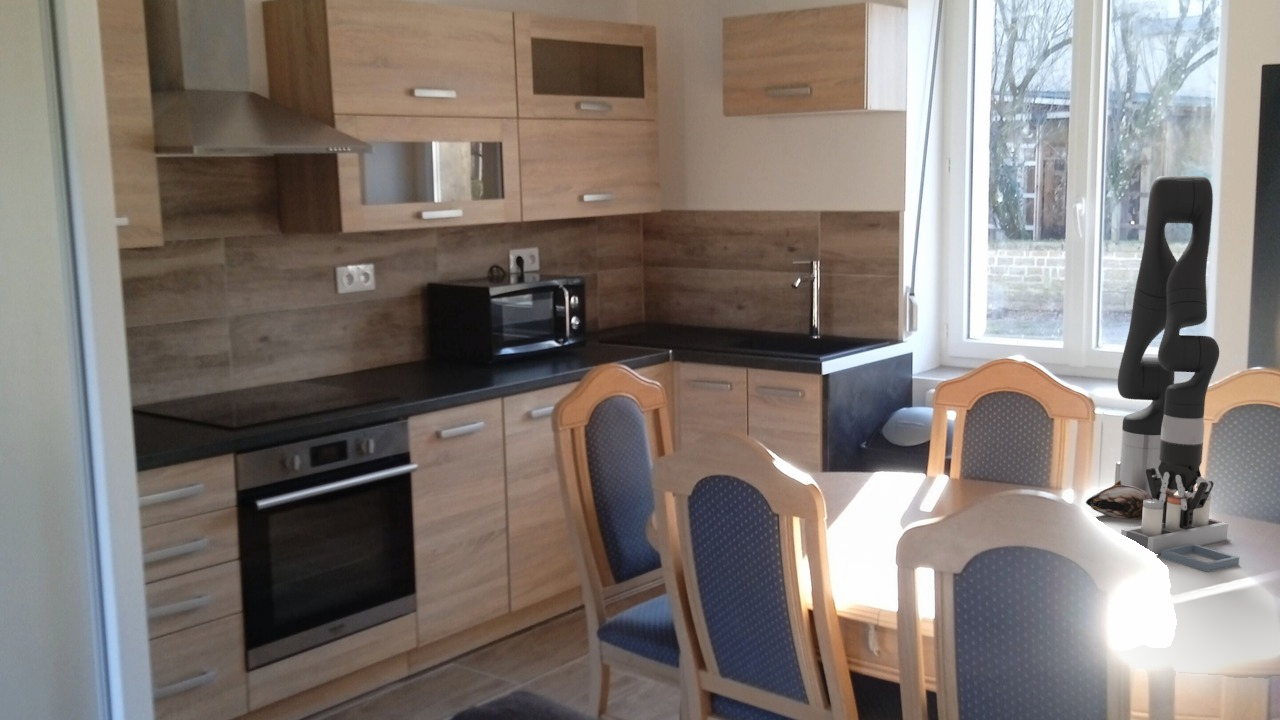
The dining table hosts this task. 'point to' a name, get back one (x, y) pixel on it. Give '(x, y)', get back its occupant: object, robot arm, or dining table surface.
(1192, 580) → the dining table surface
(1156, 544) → the grey compartment rack
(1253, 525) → the dining table surface
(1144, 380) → the robot arm
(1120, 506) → the decorative duck model
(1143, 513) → the fuse
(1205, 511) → the white domed part
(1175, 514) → the cylinder
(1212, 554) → the tray
